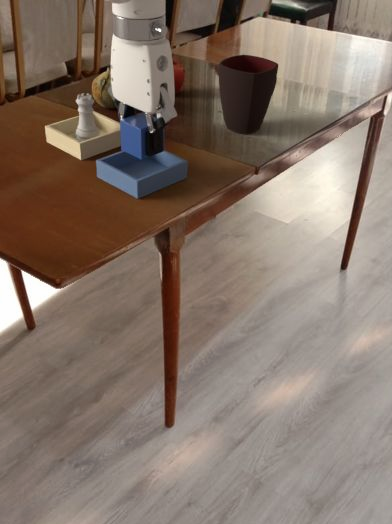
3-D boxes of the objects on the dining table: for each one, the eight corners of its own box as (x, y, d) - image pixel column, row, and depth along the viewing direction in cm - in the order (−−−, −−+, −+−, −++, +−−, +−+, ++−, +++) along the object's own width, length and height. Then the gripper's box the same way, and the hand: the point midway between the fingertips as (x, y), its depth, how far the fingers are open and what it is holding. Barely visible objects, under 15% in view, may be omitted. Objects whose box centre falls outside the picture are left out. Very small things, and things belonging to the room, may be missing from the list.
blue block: (141, 160, 100) (140, 129, 96) (121, 150, 102) (119, 119, 99) (164, 151, 102) (164, 120, 99) (143, 141, 105) (143, 111, 102)
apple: (191, 91, 137) (192, 42, 130) (177, 101, 132) (178, 51, 126) (159, 85, 139) (159, 37, 133) (145, 95, 134) (144, 45, 128)
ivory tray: (81, 160, 109) (79, 143, 107) (46, 142, 114) (44, 125, 112) (129, 143, 116) (129, 127, 114) (94, 126, 121) (93, 110, 119)
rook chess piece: (70, 140, 114) (66, 96, 109) (86, 133, 117) (83, 89, 112) (89, 147, 112) (85, 102, 107) (105, 139, 115) (102, 95, 110)
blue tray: (137, 199, 100) (137, 181, 98) (97, 177, 105) (95, 160, 103) (187, 177, 106) (187, 160, 104) (146, 158, 111) (146, 141, 109)
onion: (139, 105, 130) (138, 64, 125) (114, 116, 125) (112, 74, 120) (111, 96, 133) (108, 56, 128) (85, 107, 128) (82, 66, 123)
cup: (207, 128, 122) (211, 63, 114) (247, 109, 130) (253, 47, 123) (249, 142, 118) (256, 76, 110) (288, 122, 126) (297, 59, 118)
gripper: (200, 35, 88) (196, 158, 100) (120, 10, 96) (125, 126, 108) (161, 45, 84) (161, 172, 96) (81, 18, 92) (91, 138, 104)
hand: (142, 147), depth 102 cm, fingers closed on blue block, 5 cm apart
